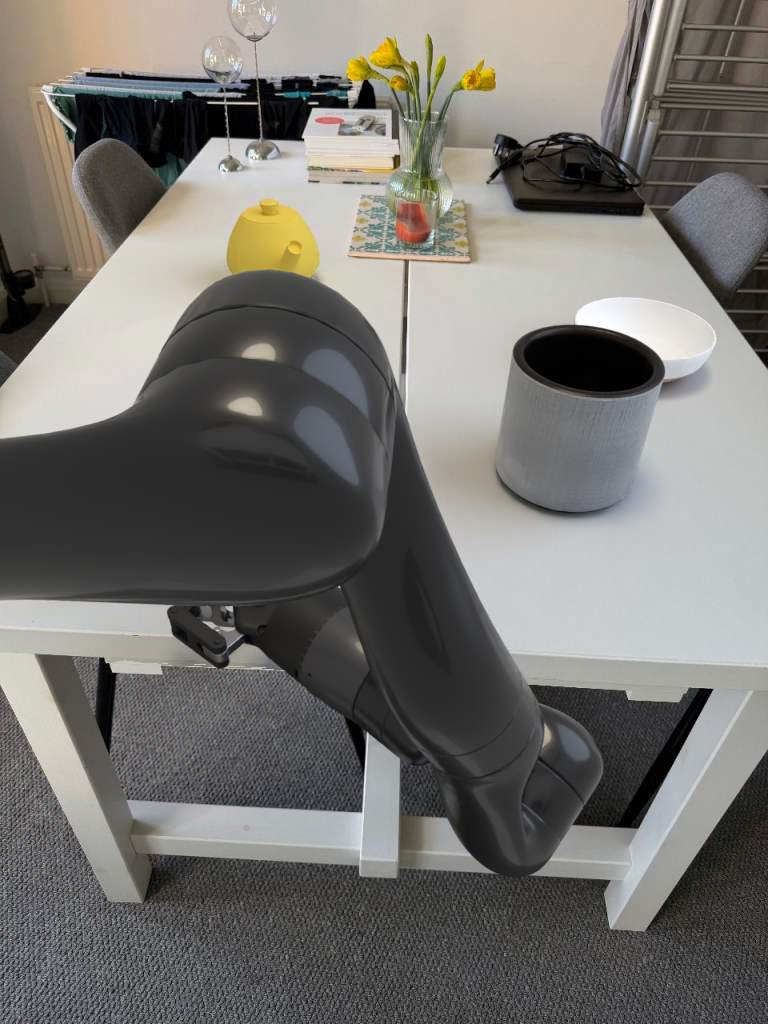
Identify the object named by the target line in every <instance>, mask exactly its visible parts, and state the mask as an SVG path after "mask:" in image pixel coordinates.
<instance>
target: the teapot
mask: <svg viewBox="0 0 768 1024" xmlns="http://www.w3.org/2000/svg"><path fill="white" fill-rule="evenodd" d="M258 203H259V204H258V205H254V206H250V207H248V208H246V209H244V210H243V211H242V212H241V213H240V214H239V217H238V219H237V220H236V222H235V224H234V226H233V229H232V230H231V233H230V236H229V238H228V241H227V248H226V257H225V258H226V266H227V268H228V270H229V271H230V273H232V275H235V274H238V273H242V272H245V271H253V270H267V269H272V270H280V271H288V272H294V273H297V274H300V275H303V276H306V277H309V278H312V277H313V275H314V274H315V273H316V272H317V270H318V268H319V266H320V262H321V258H320V257H321V256H320V251H319V246H318V243H317V241H316V238H315V236H314V234H313V232H312V231H311V229H310V227H309V225H308V224H307V222H306V220H305V219H304V218H303V217H302V215H301V214H300V212H299V211H297V209H295V208H294V207H291V206H288V205H284V204H280V201H279V200H277V199H276V198H264V199H261V200H259V202H258Z"/></svg>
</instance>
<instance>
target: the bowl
mask: <svg viewBox="0 0 768 1024" xmlns="http://www.w3.org/2000/svg"><path fill="white" fill-rule="evenodd" d="M573 325H588V326H595V327H601V328H606V329H610V330H613V331H617V332H620V333H623V334H626V335H628V336H630V337H633V338H635V339H637V340H639V341H641V342H642V343H644V344H646V345H647V346H648V347H650V348H651V349H652V350H654V351H655V352H656V353H657V354H658V356H659V357H660V358H661V360H662V361H663V363H664V366H665V377H664V380H663V383H670V382H673V381H676V380H679V379H682V378H683V377H687V376H689V375H691V374H693V373H695V372H697V371H698V370H699V369H700V368H701V367H702V366H703V365H704V364H705V362H707V360H709V358H710V356H711V354H712V353H713V350H714V348H715V346H716V344H717V335H716V334H717V333H716V332H715V329H714V328H713V327H712V325H711V324H710V323H709V322H707V321H706V320H705V319H704V318H702V317H701V316H699V315H698V314H696V313H694V312H692V311H690V310H688V309H685V308H683V307H680V306H678V305H675V304H673V303H668V302H664V301H662V300H661V301H660V300H655V299H651V298H645V297H644V298H643V297H632V296H631V297H629V296H627V297H626V296H618V297H617V296H616V297H606V298H602V299H597V300H594V301H591V302H588V303H586V304H584V305H583V306H581V307H580V308H579V309H578V310H577V311H576V313H575V315H574V318H573Z"/></svg>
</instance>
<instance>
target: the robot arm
mask: <svg viewBox="0 0 768 1024" xmlns="http://www.w3.org/2000/svg"><path fill="white" fill-rule="evenodd" d="M172 328H173V329H172V330H171V331H170V333H169V335H168V337H167V338H166V341H164V344H163V346H162V348H161V349H160V352H159V353H158V355H157V358H156V359H155V361H154V364H153V366H152V367H151V368H150V371H149V373H148V375H147V377H146V379H145V380H144V383H143V385H142V387H141V389H140V391H139V392H138V394H137V397H136V398H135V400H134V402H133V404H132V405H131V406H130V407H128V408H127V409H125V410H124V411H121V412H119V413H118V414H115V415H113V416H111V417H108V418H105V419H103V420H100V421H97V422H92V423H88V424H84V425H80V426H77V427H76V426H75V427H71V428H67V429H62V430H56V431H49V432H46V433H37V434H29V435H19V436H11V437H1V438H0V601H57V602H59V601H60V602H83V603H108V604H131V605H153V606H154V605H157V606H169V607H168V608H167V610H166V616H167V619H168V620H169V625H170V631H171V634H172V636H173V637H174V638H176V639H177V640H178V641H180V642H181V643H182V644H183V645H185V646H186V647H187V648H189V649H190V650H192V651H193V652H194V653H195V654H197V655H198V656H199V657H201V658H202V659H203V660H205V661H206V662H208V663H209V664H211V666H213V667H214V668H216V669H218V670H222V669H225V668H227V667H228V666H229V665H230V661H231V660H230V656H231V655H232V654H234V653H235V651H236V650H237V649H239V648H240V647H241V646H242V645H244V644H245V645H247V646H254V647H256V648H257V649H259V650H260V651H261V652H262V653H263V654H264V655H265V656H266V657H267V658H268V659H269V660H270V661H272V662H273V663H274V664H275V665H276V666H278V667H279V668H280V669H281V670H283V671H284V672H285V673H286V674H288V675H289V676H290V677H292V678H293V679H294V680H295V681H296V682H298V683H299V684H300V685H301V686H303V687H304V688H305V689H306V690H307V691H308V693H309V694H310V695H312V696H313V697H314V698H317V699H319V700H320V701H321V702H323V703H324V704H325V705H326V706H327V707H329V708H330V709H332V710H333V711H335V712H336V713H338V714H340V715H342V716H344V717H345V718H347V719H348V720H350V721H352V722H353V723H354V724H356V725H357V726H358V727H359V728H361V729H362V730H363V731H365V732H366V733H367V734H369V735H370V736H371V737H372V738H373V739H374V740H376V741H377V742H378V743H380V744H381V745H382V746H383V747H384V748H386V749H387V750H388V751H389V752H390V753H392V754H393V755H394V756H395V757H397V758H398V759H400V760H401V761H402V762H405V763H406V764H408V765H410V766H413V767H422V766H425V765H428V764H430V765H431V767H432V770H433V773H434V777H435V781H436V785H437V790H438V793H439V796H440V800H441V804H442V807H443V810H444V814H445V816H446V819H447V821H448V823H449V825H450V827H451V829H452V831H453V833H454V835H455V836H456V838H457V839H458V841H459V843H460V844H461V845H462V846H463V848H464V849H465V850H466V851H467V853H469V855H470V856H471V857H472V858H473V859H474V860H475V861H477V862H478V863H479V864H480V865H481V866H483V867H484V868H486V869H487V870H489V871H491V872H493V873H495V874H497V875H500V876H503V877H507V878H515V879H516V878H525V877H528V876H531V875H533V874H536V873H537V872H538V871H539V872H540V870H542V869H543V868H544V867H545V865H547V863H549V861H550V860H551V858H552V857H553V855H554V854H555V852H556V851H557V849H558V848H559V846H560V844H561V843H562V841H563V840H564V838H565V837H566V835H567V834H568V832H569V830H570V829H571V828H572V826H573V824H574V823H575V822H576V820H577V818H578V817H579V815H580V814H581V812H582V811H583V810H584V807H585V806H586V805H587V803H588V801H589V800H590V799H591V797H592V795H593V794H594V792H595V790H596V789H597V787H598V786H599V784H600V782H601V779H602V777H603V774H604V769H605V768H604V767H605V766H604V765H605V764H604V758H603V755H602V752H601V749H600V746H599V745H598V744H597V742H596V740H595V738H594V737H593V736H592V735H591V733H590V732H589V730H587V729H586V727H584V726H583V725H582V724H581V723H580V722H579V721H578V720H576V719H574V718H573V717H571V716H570V715H568V714H566V713H564V712H563V711H560V710H558V709H555V708H553V707H551V706H548V705H546V704H543V703H541V702H539V701H538V699H537V697H536V695H535V694H534V692H533V690H532V688H531V687H530V685H529V683H528V681H527V680H526V678H525V677H524V675H523V673H522V671H521V669H520V668H519V666H518V664H517V663H516V661H515V659H514V657H513V655H512V654H511V653H510V650H509V649H508V648H507V646H506V644H505V642H504V641H503V639H502V636H501V635H500V633H499V632H498V630H497V628H496V627H495V625H494V623H493V622H492V621H493V620H492V618H490V615H489V614H488V612H487V610H486V608H485V606H484V604H483V603H482V600H481V599H480V596H479V595H478V592H477V591H476V589H475V587H474V584H473V582H472V580H471V578H470V576H469V574H468V572H467V570H466V568H465V566H464V564H463V561H462V559H461V557H460V554H459V552H458V550H457V548H456V546H455V543H454V541H453V539H452V537H451V534H450V532H449V529H448V526H447V524H446V523H445V519H444V516H443V515H442V513H441V510H440V508H439V505H438V503H437V500H436V498H435V496H434V493H433V490H432V488H431V485H430V481H429V479H428V477H427V474H426V471H425V468H424V466H423V464H422V461H421V457H420V454H419V451H418V448H417V445H416V441H415V439H414V436H413V432H412V429H411V425H410V422H409V418H408V416H407V413H406V409H405V406H404V403H403V400H402V397H401V394H400V390H399V388H398V384H397V381H396V377H395V375H394V372H393V367H392V365H391V363H390V360H389V356H388V354H387V351H386V349H385V346H384V343H383V342H382V339H381V338H380V337H379V334H378V332H377V331H376V329H375V328H374V327H373V326H372V324H371V323H370V321H368V319H367V318H366V317H365V315H364V314H363V313H362V312H361V311H360V309H359V308H358V307H356V306H355V304H353V303H351V302H350V301H349V300H348V299H347V298H346V297H345V296H343V294H341V293H340V292H339V291H337V290H335V289H333V288H331V286H330V287H329V286H328V285H326V284H325V283H323V282H321V281H319V280H318V279H315V278H312V277H310V278H309V277H306V276H303V275H300V274H297V273H294V272H288V271H280V270H272V269H267V270H253V271H245V272H242V273H238V274H235V275H234V274H232V275H229V276H226V277H222V278H220V279H219V280H217V281H215V282H213V283H212V284H211V285H209V286H207V287H206V288H205V289H204V290H203V291H202V292H201V293H200V294H199V295H197V296H196V297H195V299H193V300H192V301H191V302H190V303H189V305H188V306H187V307H186V309H185V310H184V311H183V313H182V314H181V315H180V317H179V319H178V320H177V321H176V323H175V325H174V327H172ZM227 607H232V611H230V610H229V609H227ZM205 622H208V623H212V624H213V625H214V626H215V627H213V628H212V627H210V626H209V625H208V624H206V623H205ZM221 628H234V629H233V630H230V631H227V630H224V629H221Z"/></svg>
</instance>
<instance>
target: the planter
mask: <svg viewBox="0 0 768 1024" xmlns="http://www.w3.org/2000/svg"><path fill="white" fill-rule="evenodd" d="M664 377H665V366H664V363H663V361H662V360H661V358H660V357H659V356H658V354H657V353H656V352H655V351H654V350H652V349H651V348H650V347H648V346H647V345H646V344H644V343H642V342H641V341H639V340H637V339H635V338H633V337H630V336H628V335H626V334H623V333H620V332H617V331H613V330H610V329H606V328H601V327H595V326H588V325H574V324H556V325H555V324H554V325H548V326H544V327H540V328H537V329H533V330H531V331H529V332H527V333H525V334H523V335H522V336H521V337H520V338H518V340H517V341H516V342H515V343H514V345H513V348H512V352H511V358H510V365H509V371H508V377H507V382H506V383H507V384H506V390H505V395H504V401H503V408H502V413H501V418H500V424H499V431H498V436H497V437H498V438H497V442H496V449H495V468H496V471H497V474H498V476H499V477H500V479H501V480H502V482H503V483H504V484H505V485H506V486H507V487H508V488H509V489H510V490H511V491H512V492H514V493H515V494H516V495H518V496H519V497H521V498H523V499H525V500H527V501H528V502H529V503H532V504H535V505H537V506H540V507H543V508H546V509H550V510H554V511H560V512H569V513H586V512H593V511H594V512H595V511H598V510H602V509H605V508H608V507H611V506H613V505H615V504H617V503H619V502H620V501H621V500H623V499H624V498H625V497H626V496H627V494H628V493H629V492H630V490H631V488H632V485H634V481H635V478H636V475H637V471H638V468H639V464H640V462H641V457H642V454H643V452H644V451H643V450H644V447H645V443H646V440H647V437H648V434H649V431H650V430H649V429H650V427H651V423H652V419H653V416H654V413H655V409H656V407H657V403H658V400H659V396H660V393H661V391H662V387H663V383H664V382H663V380H664Z"/></svg>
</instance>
